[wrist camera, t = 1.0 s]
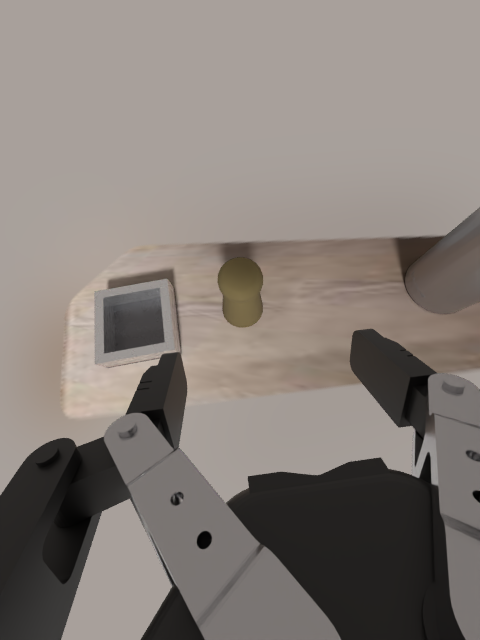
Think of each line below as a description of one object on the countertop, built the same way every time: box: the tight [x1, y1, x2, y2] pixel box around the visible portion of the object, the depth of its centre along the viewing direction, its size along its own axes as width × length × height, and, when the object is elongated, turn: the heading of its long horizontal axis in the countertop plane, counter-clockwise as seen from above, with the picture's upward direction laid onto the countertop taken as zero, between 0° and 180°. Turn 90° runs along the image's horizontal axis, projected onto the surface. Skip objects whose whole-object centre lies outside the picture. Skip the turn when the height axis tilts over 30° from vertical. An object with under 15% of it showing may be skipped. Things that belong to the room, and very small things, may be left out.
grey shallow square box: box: [95, 279, 181, 368], centre depth 36 cm, size 10×10×3 cm
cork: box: [218, 257, 263, 327], centre depth 33 cm, size 6×6×11 cm
